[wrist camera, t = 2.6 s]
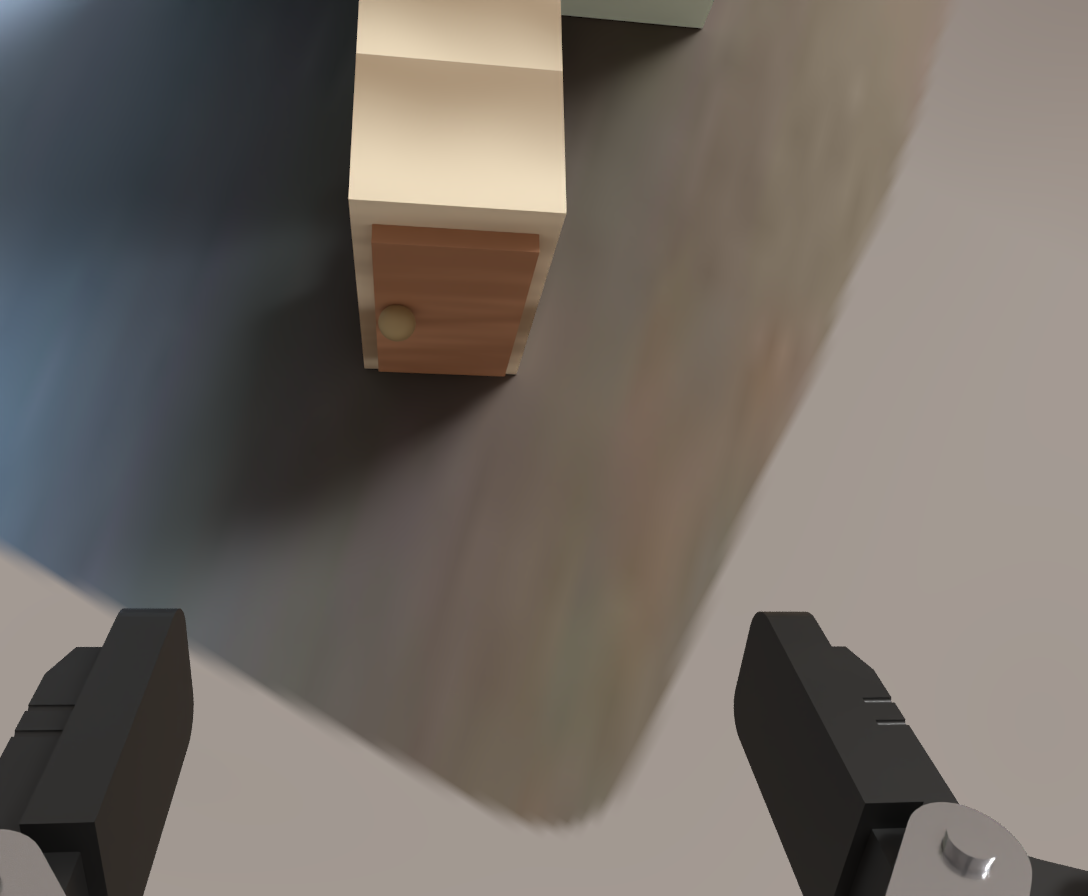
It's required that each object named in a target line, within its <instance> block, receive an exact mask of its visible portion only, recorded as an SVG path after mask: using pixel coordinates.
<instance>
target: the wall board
mask: <svg viewBox="0 0 1088 896" xmlns="http://www.w3.org/2000/svg"><path fill="white" fill-rule="evenodd" d="M713 2H714V0H561V15H567V16H578V17H588V18H598V19H609V20H619V21H630V22H640V23H651V24H661V25H672V26H682V27H692V28H703V26H704V24H705V21H706V19H707V16H708V14H709V12H710V9H711V7H712V4H713Z"/></svg>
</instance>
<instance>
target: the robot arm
mask: <svg viewBox="0 0 1088 896" xmlns="http://www.w3.org/2000/svg"><path fill="white" fill-rule="evenodd" d="M193 705H194V703H193V688H192V679H191V669H190V660H189V650H188V641H187V631H186V622H185V616H184V613H183V611H182V610H181V609H122V610H121V611H120V612H119V613H118V615H117V617H116V619H115V621H114V623H113V626H112V628H111V630H110V632H109V634H108V636H107V638H106V641H105V643H104V645H103V647H76V648H75V649H73V650H72V651H71V652H70V653H69V654H68V655H67V656H65V657H64V658H63V659H62V660H61V661H60V662H58V663H57V664H56V665H55V666H54V667H53V668H51V669H50V670H49V671H48V672H47V673H46V674H45V675H44V677H43V679H42V680H41V682H40V684H39V686H38V688H37V690H36V692H35V694H34V695H33V698H32V699H31V701H30V703H29V705H28V706H29V708H28V711H25V712H24V714H23V716H22V718H21V720H20V722H19V724H18V725H17V727H16V729H15V736H14V737H11V739H10V740H9V742H8V744H7V746H6V748H5V750H4V752H3V753H2V756H1V757H0V896H143V894H144V890H145V887H146V884H147V881H148V877H149V874H150V871H151V867H152V864H153V861H154V857H155V854H156V851H157V847H158V844H159V841H160V838H161V834H162V831H163V828H164V824H165V821H166V818H167V814H168V811H169V808H170V804H171V801H172V798H173V794H174V791H175V788H176V785H177V781H178V778H179V775H180V771H181V768H182V765H183V761H184V758H185V755H186V751H187V748H188V744H189V741H190V736H191V730H192V722H193ZM734 717H735V725H736V729H737V733H738V736H739V739H740V741H741V744H742V746H743V749H744V751H745V754H746V756H747V759H748V761H749V763H750V766H751V769H752V771H753V773H754V776H755V778H756V781H757V783H758V786H759V788H760V791H761V793H762V796H763V798H764V800H765V803H766V805H767V808H768V810H769V813H770V815H771V818H772V820H773V823H774V825H775V827H776V830H777V832H778V835H779V837H780V840H781V842H782V845H783V847H784V850H785V852H786V855H787V857H788V859H789V862H790V864H791V867H792V869H793V872H794V874H795V877H796V879H797V882H798V884H799V887H800V889H801V891H802V894H803V896H1088V871H1085V870H1081V869H1076V868H1072V867H1068V866H1064V865H1060V864H1056V863H1052V862H1047V861H1044V860H1040V859H1036V858H1033V857H1029V856H1027V853H1026V852H1025V850H1024V849H1023V847H1022V845H1021V844H1020V843H1019V841H1018V840H1017V839H1016V838H1015V837H1014V836H1013V835H1012V834H1011V833H1010V832H1009V831H1008V830H1007V829H1006V828H1005V827H1003V826H1002V825H1001V824H1000V823H998V822H997V821H995V820H994V819H992V818H991V817H989V816H987V815H985V814H983V813H982V812H979V811H977V810H975V809H972V808H970V807H967V806H964V805H960V804H959V803H958V802H957V800H956V798H955V797H954V795H953V794H952V792H951V791H950V789H949V787H948V786H947V784H946V783H945V781H944V780H943V778H942V776H941V775H940V773H939V772H938V770H937V769H936V767H935V765H934V764H933V762H932V761H931V759H930V758H929V756H928V754H927V753H926V751H925V750H924V748H923V747H922V745H921V743H920V742H919V740H918V739H917V737H916V736H915V734H914V732H913V731H912V729H911V728H910V726H909V725H906V724H905V718H904V717H903V715H902V714H901V712H900V710H899V709H898V707H897V706H896V704H895V703H892V702H891V696H890V695H889V693H888V692H887V690H886V688H885V687H884V685H883V684H882V682H881V681H880V679H879V678H878V676H877V674H876V673H875V671H874V670H873V669H872V668H871V667H869V666H868V665H867V664H866V663H865V662H863V661H862V660H861V659H860V658H859V657H857V656H856V655H855V654H854V653H853V652H851V651H850V650H849V649H848V648H847V647H832V646H831V645H830V643H829V641H828V640H827V638H826V636H825V635H824V633H823V631H822V630H821V628H820V626H819V625H818V623H817V621H816V620H815V618H814V617H813V615H811V614H810V613H808V612H757V613H756V614H755V616H754V617H753V619H752V622H751V625H750V630H749V634H748V639H747V643H746V647H745V651H744V655H743V660H742V664H741V668H740V673H739V677H738V681H737V685H736V690H735V696H734Z"/></svg>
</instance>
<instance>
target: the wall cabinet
mask: <svg viewBox="0 0 1088 896" xmlns="http://www.w3.org/2000/svg"><path fill="white" fill-rule="evenodd" d="M348 200H349V211H350V221H351V232H352V242H353V253H354V264H355V274H356V285H357V295H358V306H359V316H360V327H361V337H362V348H363V359H364V368H368V369H379V372H403V373H429V374H454V375H479V376H505V374H517V371H518V368H519V364H520V361H521V358H522V355H523V351H524V348H525V345H526V342H527V339H528V335H529V332H530V329H531V326H532V323H533V319H534V316H535V313H536V310H537V306H538V303H539V300H540V297H541V294H542V290H543V287H544V284H545V281H546V277H547V274H548V271H549V268H550V265H551V261H552V258H553V255H554V252H555V249H556V245H557V242H558V239H559V236H560V232H561V229H562V226H563V223H564V220H565V216H566V178H565V142H564V105H563V68H562V32H561V0H359V11H358V30H357V48H356V67H355V85H354V104H353V123H352V141H351V160H350V178H349V197H348Z"/></svg>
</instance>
